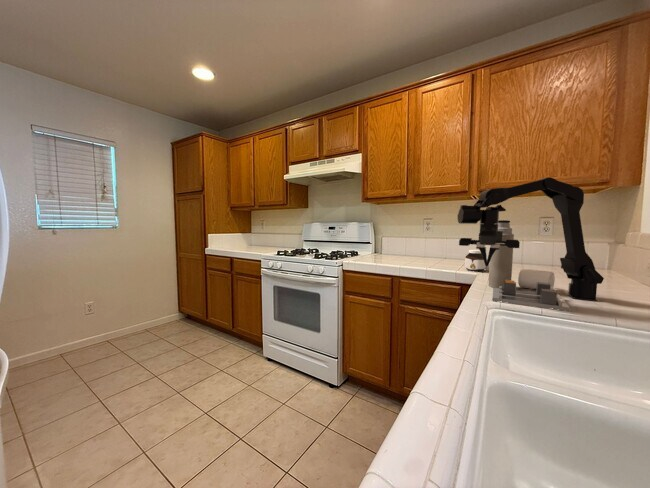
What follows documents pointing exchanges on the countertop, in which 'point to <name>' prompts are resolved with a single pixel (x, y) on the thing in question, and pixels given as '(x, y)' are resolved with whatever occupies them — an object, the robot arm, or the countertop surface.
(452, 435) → the countertop surface
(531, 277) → the mug
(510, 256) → the thermos bottle
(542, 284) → the breaker panel
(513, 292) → the block
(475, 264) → the spread jar
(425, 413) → the countertop surface
